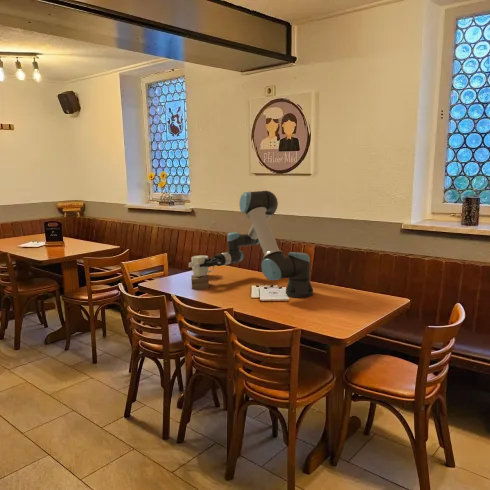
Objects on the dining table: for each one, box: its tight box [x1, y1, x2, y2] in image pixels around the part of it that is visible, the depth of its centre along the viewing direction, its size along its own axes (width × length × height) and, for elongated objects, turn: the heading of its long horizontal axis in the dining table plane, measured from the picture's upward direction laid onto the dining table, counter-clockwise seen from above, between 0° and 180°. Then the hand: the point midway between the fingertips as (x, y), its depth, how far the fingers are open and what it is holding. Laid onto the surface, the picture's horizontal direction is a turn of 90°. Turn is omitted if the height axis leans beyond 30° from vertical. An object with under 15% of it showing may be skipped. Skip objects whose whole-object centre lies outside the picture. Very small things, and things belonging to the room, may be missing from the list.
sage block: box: [192, 255, 205, 276], centre depth 260 cm, size 5×5×11 cm
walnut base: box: [191, 273, 210, 290], centre depth 262 cm, size 10×10×6 cm
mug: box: [191, 254, 215, 274], centre depth 287 cm, size 15×11×13 cm
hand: (191, 265), depth 256 cm, fingers closed on sage block, 5 cm apart
